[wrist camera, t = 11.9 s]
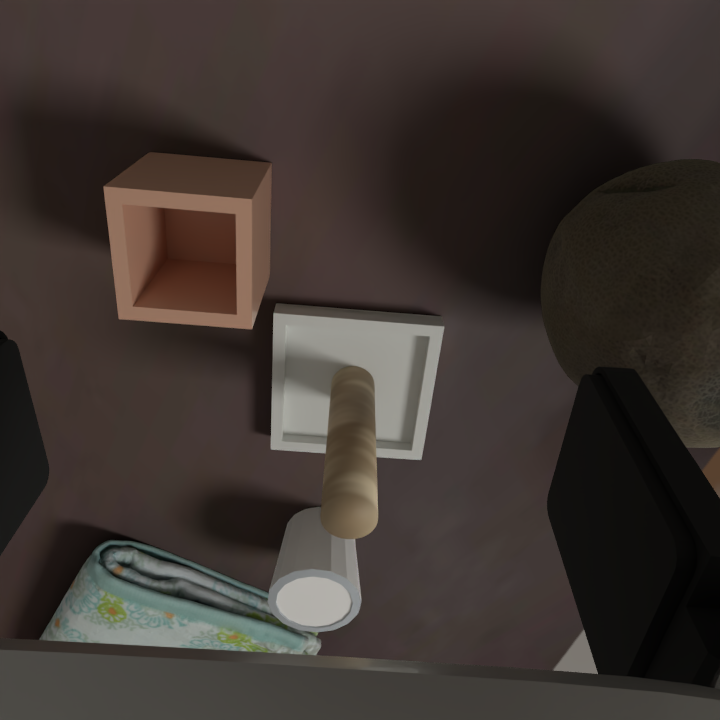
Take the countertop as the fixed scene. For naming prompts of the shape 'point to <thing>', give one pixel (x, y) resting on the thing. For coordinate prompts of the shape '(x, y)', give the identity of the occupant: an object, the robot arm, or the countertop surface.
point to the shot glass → (314, 576)
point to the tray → (353, 348)
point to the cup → (190, 239)
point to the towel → (168, 606)
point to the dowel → (350, 457)
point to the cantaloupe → (644, 289)
